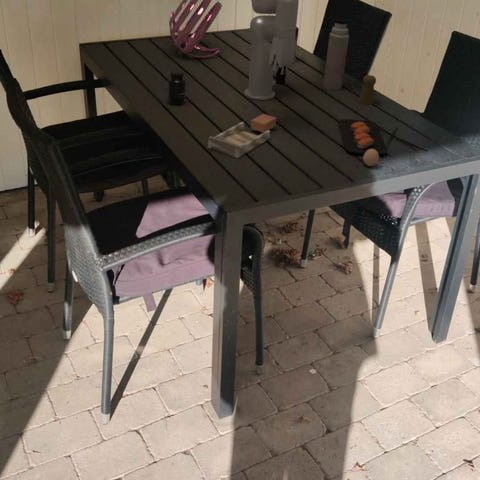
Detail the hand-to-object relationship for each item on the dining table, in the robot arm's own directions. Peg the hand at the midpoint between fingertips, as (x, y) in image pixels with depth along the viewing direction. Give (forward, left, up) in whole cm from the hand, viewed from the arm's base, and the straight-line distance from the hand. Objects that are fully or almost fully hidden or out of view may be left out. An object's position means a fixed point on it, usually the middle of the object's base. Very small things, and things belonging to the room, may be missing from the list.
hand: (280, 83), depth 240 cm
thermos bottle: (-50, -2, -15) cm, 52 cm away
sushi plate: (-12, +38, -16) cm, 43 cm away
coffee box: (-65, -35, -15) cm, 75 cm away
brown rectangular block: (+9, 0, -15) cm, 18 cm away
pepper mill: (-43, +17, -15) cm, 48 cm away
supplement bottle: (+9, -40, -15) cm, 44 cm away
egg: (+10, +43, -15) cm, 47 cm away
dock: (+24, 0, -15) cm, 29 cm away
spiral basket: (-45, -72, -15) cm, 86 cm away
